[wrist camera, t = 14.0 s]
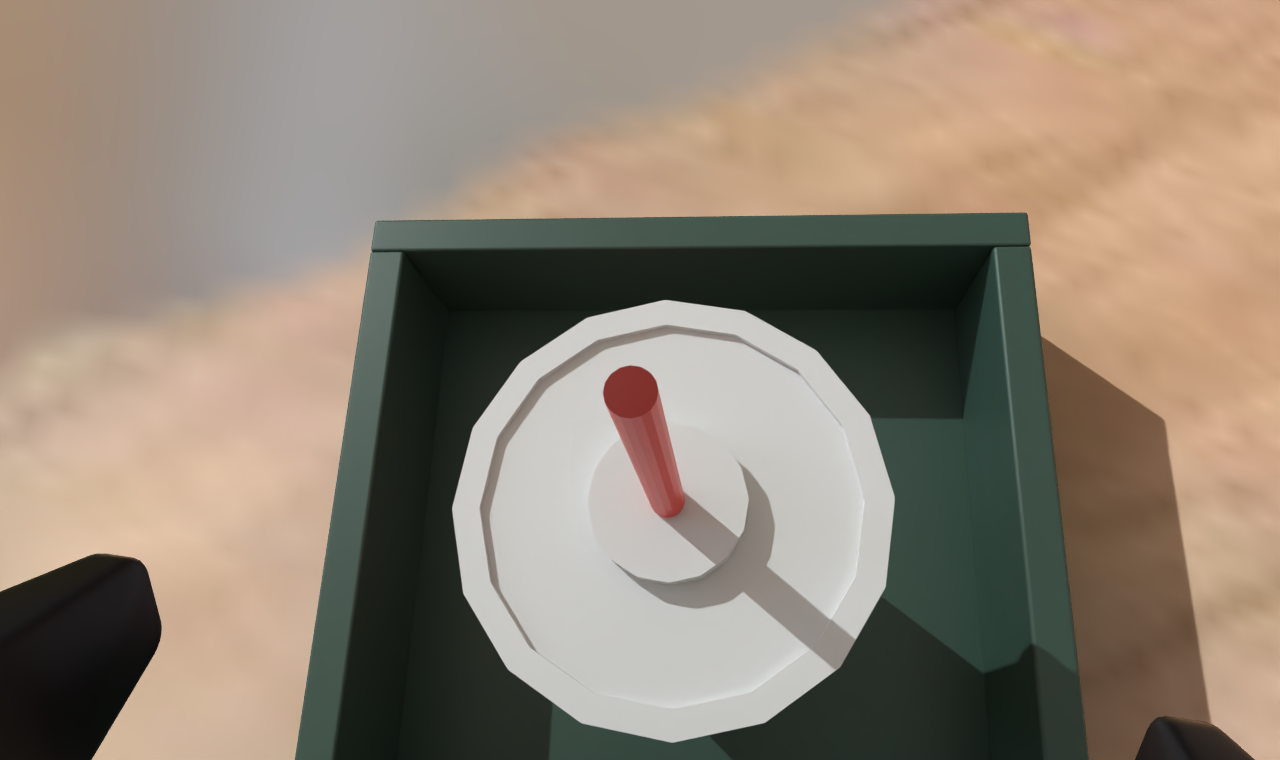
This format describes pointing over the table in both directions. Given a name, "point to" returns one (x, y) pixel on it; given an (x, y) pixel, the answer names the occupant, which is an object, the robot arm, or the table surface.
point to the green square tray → (862, 359)
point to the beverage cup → (673, 520)
